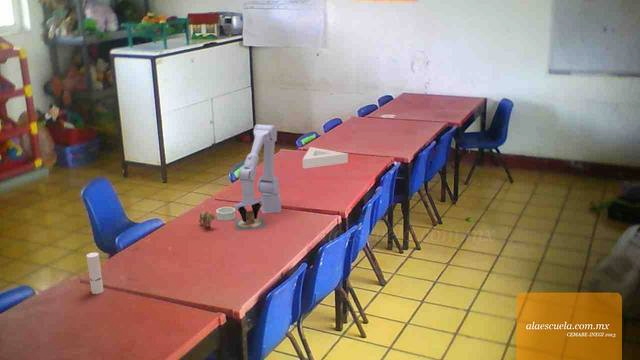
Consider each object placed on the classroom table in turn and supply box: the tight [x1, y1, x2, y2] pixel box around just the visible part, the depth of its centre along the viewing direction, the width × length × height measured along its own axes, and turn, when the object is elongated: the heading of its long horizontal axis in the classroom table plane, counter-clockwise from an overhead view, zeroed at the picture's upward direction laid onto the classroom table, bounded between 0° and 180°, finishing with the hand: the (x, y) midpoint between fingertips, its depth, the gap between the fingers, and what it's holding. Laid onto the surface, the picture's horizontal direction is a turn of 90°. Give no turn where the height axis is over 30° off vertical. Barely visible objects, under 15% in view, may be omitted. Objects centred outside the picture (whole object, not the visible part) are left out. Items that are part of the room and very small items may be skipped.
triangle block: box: [302, 146, 349, 169], centre depth 406 cm, size 30×26×6 cm
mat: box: [233, 216, 268, 232], centre depth 308 cm, size 14×14×1 cm
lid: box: [238, 210, 262, 228], centre depth 307 cm, size 11×11×6 cm
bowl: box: [215, 206, 237, 222], centre depth 317 cm, size 9×9×4 cm
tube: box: [86, 252, 104, 295], centre depth 244 cm, size 4×4×15 cm
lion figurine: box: [198, 210, 217, 231], centre depth 306 cm, size 15×5×9 cm, turn 35°
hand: (249, 220), depth 308 cm, fingers closed on lid, 5 cm apart
